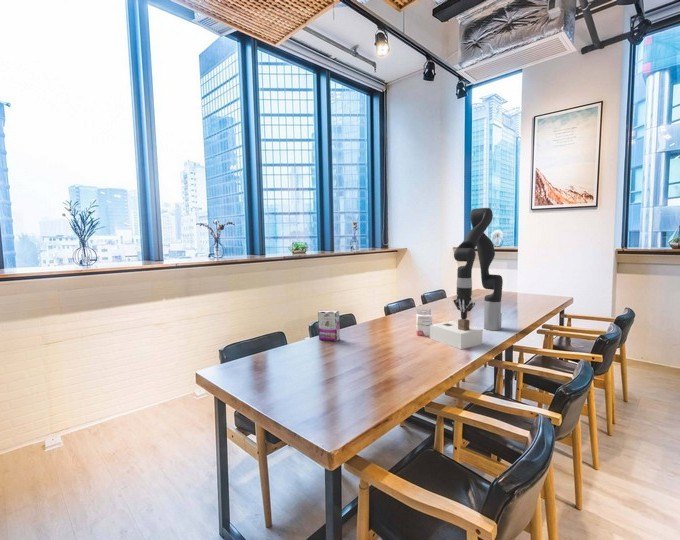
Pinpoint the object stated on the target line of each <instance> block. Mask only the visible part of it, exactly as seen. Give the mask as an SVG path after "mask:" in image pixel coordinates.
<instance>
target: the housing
mask: <svg viewBox="0 0 680 540" xmlns="http://www.w3.org/2000/svg"><path fill="white" fill-rule="evenodd" d="M444 324H451V325H452V326H445V325H444ZM483 330H484V328H480V327H475V326H473V325H469V330H466V331H463V330H459V329H458V321H457V322H456V321H453V320H449V321H443V322H438V323H432V325H430V336H429V339H431V340H433V341H435V342H438V343H441V344H445V345H447V346H450V347H453V348H456V349H459V350H464V349H468V348H472V347H477V346H480V345H483V335H484V334H483V332H484V331H483Z"/></svg>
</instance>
